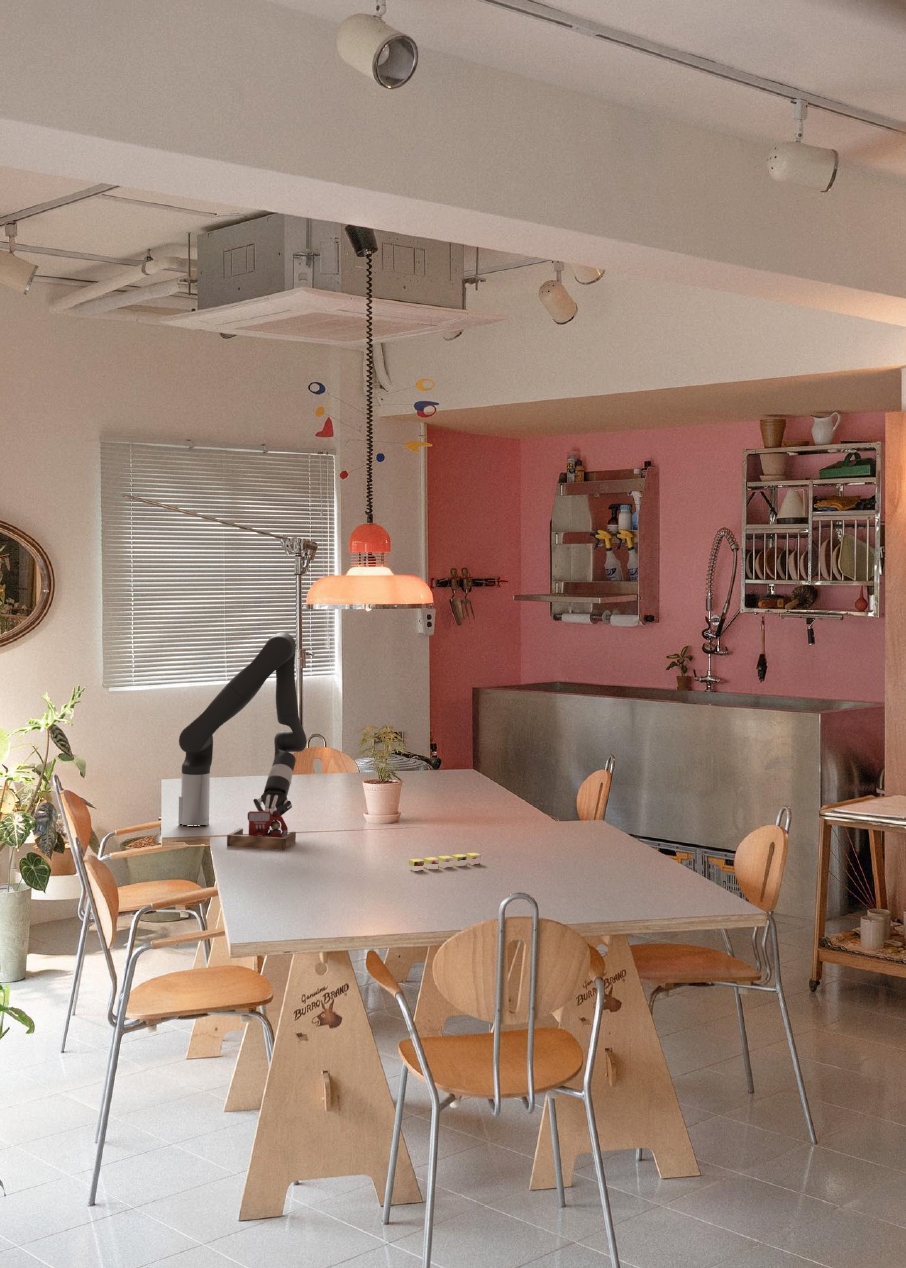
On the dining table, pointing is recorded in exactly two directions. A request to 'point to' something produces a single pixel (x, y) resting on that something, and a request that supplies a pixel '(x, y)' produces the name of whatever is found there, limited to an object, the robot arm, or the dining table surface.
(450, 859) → the yellow cube chain
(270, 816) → the toy fire truck
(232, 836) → the walnut cradle
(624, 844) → the dining table surface
